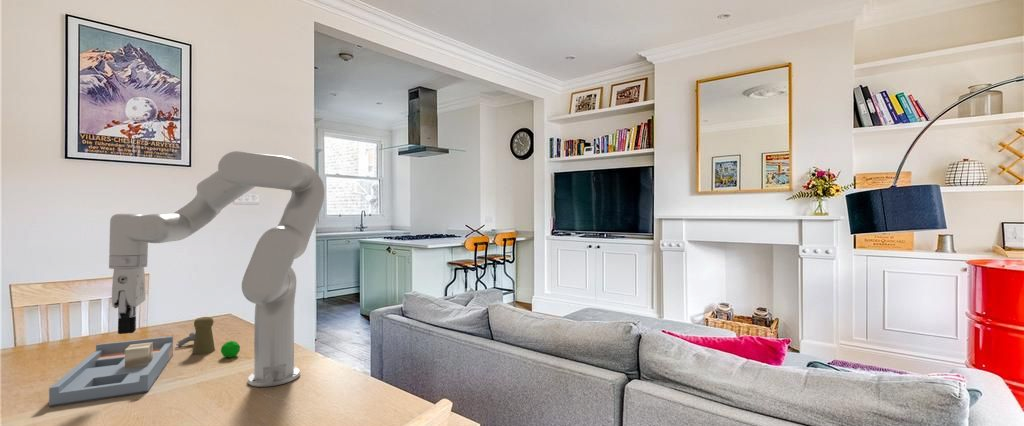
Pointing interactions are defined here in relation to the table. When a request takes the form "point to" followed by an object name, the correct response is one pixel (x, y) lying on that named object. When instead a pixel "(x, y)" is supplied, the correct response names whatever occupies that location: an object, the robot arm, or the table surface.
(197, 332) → the cork
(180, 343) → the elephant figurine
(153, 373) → the box
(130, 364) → the maple block
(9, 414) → the table surface
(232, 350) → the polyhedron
